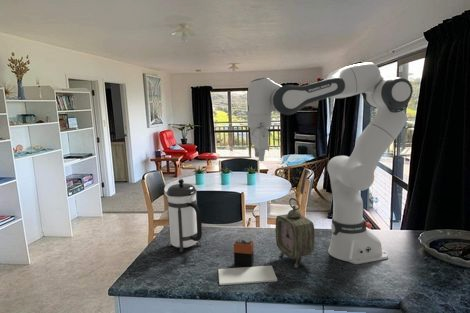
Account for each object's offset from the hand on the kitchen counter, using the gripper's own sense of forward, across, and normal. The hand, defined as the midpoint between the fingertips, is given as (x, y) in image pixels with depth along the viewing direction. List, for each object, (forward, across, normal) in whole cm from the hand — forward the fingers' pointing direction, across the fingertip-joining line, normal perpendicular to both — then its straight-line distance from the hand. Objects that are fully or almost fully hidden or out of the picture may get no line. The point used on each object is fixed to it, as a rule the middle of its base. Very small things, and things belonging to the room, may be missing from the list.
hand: (259, 158), depth 124 cm
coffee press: (+41, +15, +29) cm, 52 cm away
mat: (+40, -13, +6) cm, 43 cm away
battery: (+40, -5, +6) cm, 41 cm away
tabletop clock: (+40, -4, -14) cm, 42 cm away
